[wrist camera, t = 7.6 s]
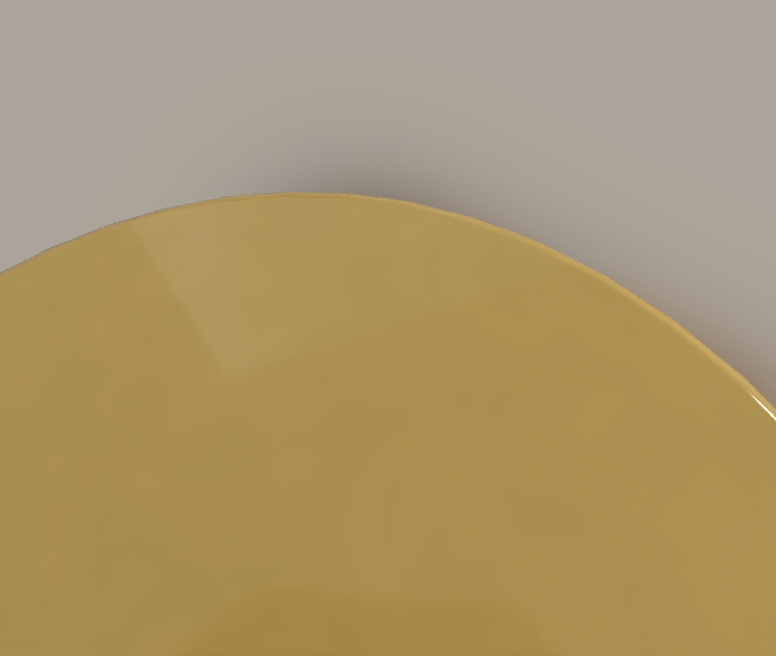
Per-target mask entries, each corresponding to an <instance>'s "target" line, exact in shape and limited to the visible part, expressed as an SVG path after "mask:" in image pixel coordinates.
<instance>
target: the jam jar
mask: <svg viewBox="0 0 776 656" xmlns="http://www.w3.org/2000/svg"><path fill="white" fill-rule="evenodd" d="M0 656H776V409H775V408H774V407H773V406H772V405H771V404H770V403H769V402H768V401H767V400H766V399H765V398H764V397H763V396H762V395H761V394H760V393H759V392H758V391H757V390H756V389H755V388H754V387H753V386H752V385H751V384H750V383H749V382H748V381H747V380H746V379H745V378H744V377H743V376H741V375H740V374H739V373H738V372H737V371H736V370H734V369H733V368H732V367H731V366H729V365H728V364H727V363H725V362H724V361H723V360H722V359H721V358H720V357H718V356H717V355H716V354H715V353H713V352H712V351H711V350H710V349H709V348H707V347H706V346H704V344H702V343H701V342H700V341H699V340H697V339H696V338H695V337H694V336H693V335H691V334H690V333H689V332H688V331H686V330H685V329H684V328H683V327H681V326H680V325H679V324H678V323H677V322H675V321H674V320H673V319H671V318H670V317H668V316H666V315H665V314H664V313H662V312H661V311H659V310H657V309H656V308H654V307H653V306H651V305H650V304H648V303H647V302H645V301H644V300H642V299H640V298H639V297H637V296H636V295H634V294H633V293H631V292H630V291H628V290H626V289H625V288H624V287H622V286H620V285H619V284H617V283H616V282H614V281H612V280H611V279H610V278H608V277H607V276H605V275H603V274H601V273H599V272H597V271H595V270H593V269H591V268H589V267H587V266H585V265H583V264H581V263H579V262H578V261H576V260H573V259H572V258H570V257H567V256H566V255H564V254H562V253H560V252H558V251H556V250H554V249H551V248H550V247H548V246H546V245H544V244H542V243H540V242H538V241H535V240H533V239H530V238H527V237H524V236H522V235H519V234H516V233H513V232H511V231H508V230H506V229H503V228H500V227H497V226H495V225H492V224H489V223H487V222H484V221H481V220H478V219H475V218H473V217H470V216H465V215H461V214H457V213H453V212H449V211H445V210H441V209H437V208H433V207H429V206H425V205H421V204H417V203H413V202H409V201H401V200H394V199H386V198H379V197H371V196H363V195H356V194H349V193H314V192H278V193H267V194H254V195H242V196H230V197H223V198H218V199H212V200H207V201H201V202H197V203H191V204H185V205H180V206H175V207H169V208H165V209H162V210H158V211H155V212H151V213H148V214H144V215H141V216H138V217H134V218H131V219H127V220H124V221H121V222H117V223H114V224H111V225H107V226H104V227H102V228H100V229H97V230H94V231H92V232H89V233H87V234H84V235H82V236H79V237H77V238H74V239H72V240H69V241H67V242H64V243H62V244H59V245H56V246H54V247H51V248H49V249H47V250H45V251H43V252H41V253H39V254H37V255H35V256H33V257H31V258H29V259H27V260H25V261H23V262H21V263H19V264H17V265H15V266H13V267H11V268H9V269H7V270H5V271H3V272H1V273H0Z"/></svg>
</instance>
